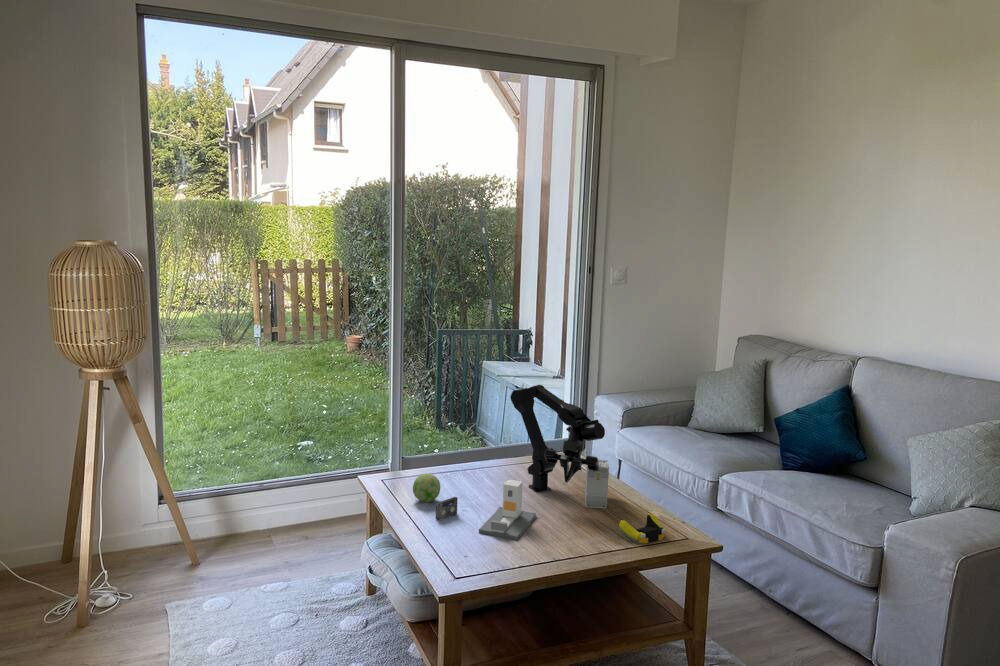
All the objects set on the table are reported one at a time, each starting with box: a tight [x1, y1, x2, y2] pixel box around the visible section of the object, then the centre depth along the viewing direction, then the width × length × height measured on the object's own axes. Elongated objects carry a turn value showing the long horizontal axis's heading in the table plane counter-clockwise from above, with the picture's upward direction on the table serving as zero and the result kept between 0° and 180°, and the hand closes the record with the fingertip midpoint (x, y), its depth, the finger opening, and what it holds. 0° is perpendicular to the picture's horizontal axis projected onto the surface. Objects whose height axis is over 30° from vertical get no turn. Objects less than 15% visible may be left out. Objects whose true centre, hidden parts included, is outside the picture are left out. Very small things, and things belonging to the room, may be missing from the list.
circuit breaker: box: [584, 459, 610, 509], centre depth 261 cm, size 8×14×15 cm, turn 174°
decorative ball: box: [412, 473, 441, 503], centre depth 255 cm, size 10×10×10 cm
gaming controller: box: [618, 513, 666, 544], centre depth 232 cm, size 15×6×10 cm
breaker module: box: [502, 479, 524, 520], centre depth 240 cm, size 6×5×12 cm
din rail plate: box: [478, 506, 537, 541], centre depth 238 cm, size 20×13×4 cm, turn 160°
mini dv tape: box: [435, 496, 458, 521], centre depth 243 cm, size 8×2×6 cm, turn 135°
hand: (566, 482), depth 246 cm, fingers closed
